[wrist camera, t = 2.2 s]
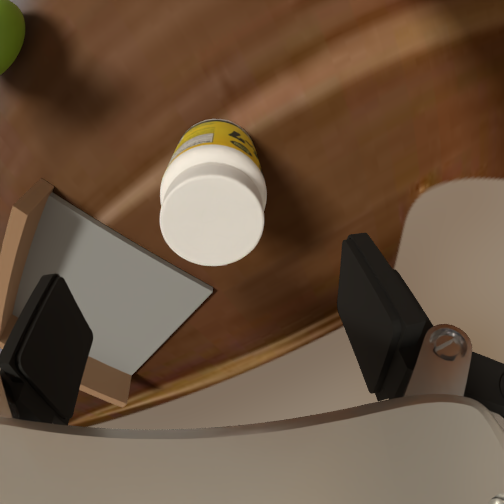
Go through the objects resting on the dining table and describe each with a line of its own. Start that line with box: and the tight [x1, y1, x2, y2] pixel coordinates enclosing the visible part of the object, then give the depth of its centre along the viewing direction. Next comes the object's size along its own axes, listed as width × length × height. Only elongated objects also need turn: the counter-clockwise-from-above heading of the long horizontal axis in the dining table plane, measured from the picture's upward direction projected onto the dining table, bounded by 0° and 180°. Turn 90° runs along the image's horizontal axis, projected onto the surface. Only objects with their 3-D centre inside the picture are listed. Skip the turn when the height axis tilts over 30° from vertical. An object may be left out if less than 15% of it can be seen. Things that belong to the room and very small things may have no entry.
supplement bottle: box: [160, 119, 267, 266], centre depth 15 cm, size 5×5×8 cm
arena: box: [0, 178, 213, 407], centre depth 23 cm, size 17×15×4 cm
